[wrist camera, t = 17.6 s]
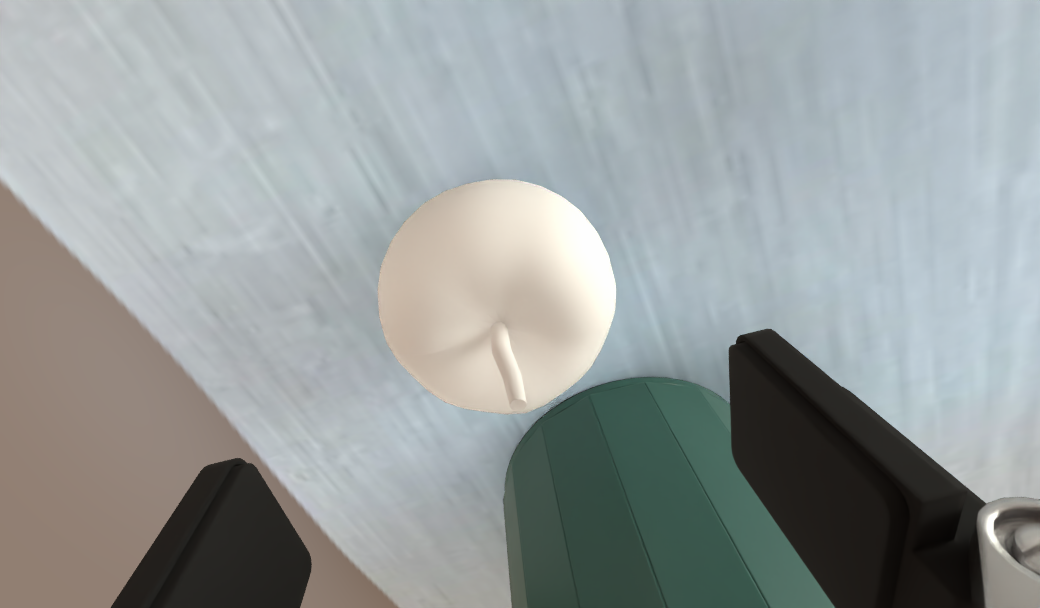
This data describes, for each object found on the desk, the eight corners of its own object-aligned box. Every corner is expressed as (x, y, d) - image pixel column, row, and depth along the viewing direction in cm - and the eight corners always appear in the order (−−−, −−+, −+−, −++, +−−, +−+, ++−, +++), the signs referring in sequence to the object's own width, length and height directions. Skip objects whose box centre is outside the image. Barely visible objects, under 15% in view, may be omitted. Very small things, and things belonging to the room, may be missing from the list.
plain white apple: (430, 356, 20) (409, 523, 13) (366, 185, 16) (290, 279, 9) (598, 315, 20) (674, 460, 12) (568, 135, 16) (646, 191, 9)
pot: (476, 413, 21) (483, 691, 12) (750, 348, 21) (976, 577, 12) (532, 582, 27) (567, 863, 17) (749, 532, 27) (902, 787, 17)
